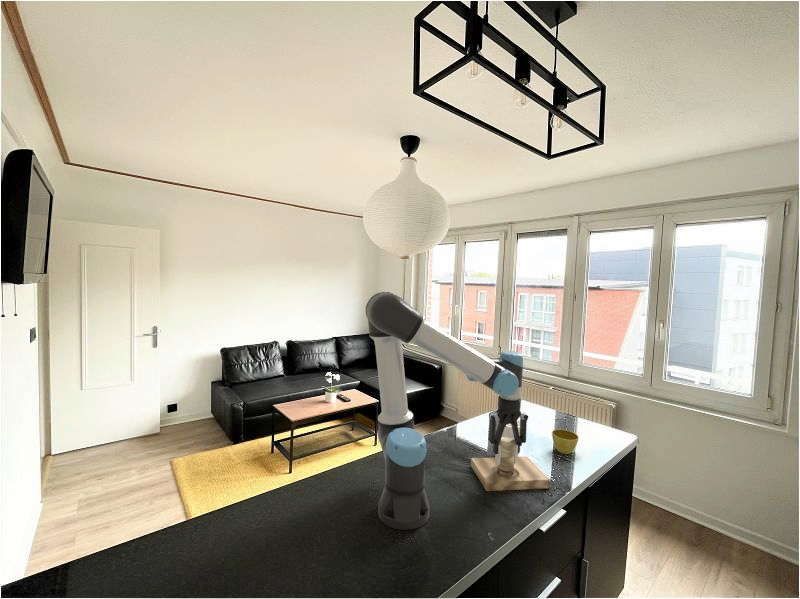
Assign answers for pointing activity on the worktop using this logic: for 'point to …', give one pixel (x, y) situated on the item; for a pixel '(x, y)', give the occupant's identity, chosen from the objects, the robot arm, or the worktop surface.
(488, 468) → the board
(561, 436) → the yellow bowl
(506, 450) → the peg
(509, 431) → the foam cup
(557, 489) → the worktop surface
